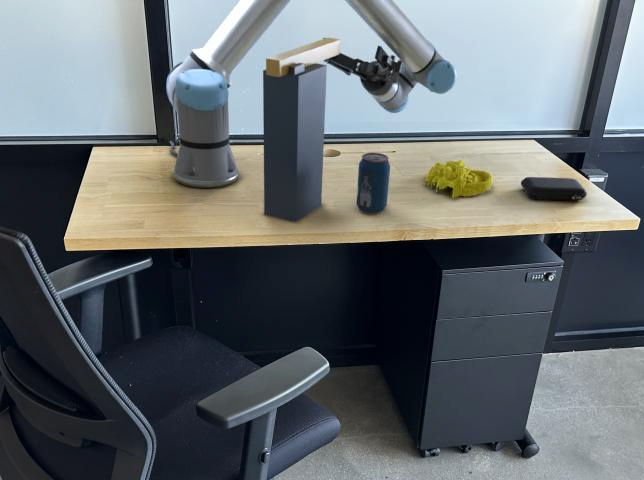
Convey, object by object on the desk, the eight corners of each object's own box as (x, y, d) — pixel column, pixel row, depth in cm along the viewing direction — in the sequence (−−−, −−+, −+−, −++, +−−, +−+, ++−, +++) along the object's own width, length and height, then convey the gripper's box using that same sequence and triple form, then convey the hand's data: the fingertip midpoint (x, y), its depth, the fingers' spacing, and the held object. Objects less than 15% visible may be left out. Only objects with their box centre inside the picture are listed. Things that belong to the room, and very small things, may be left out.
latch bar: (327, 52, 162) (327, 37, 160) (339, 54, 161) (340, 39, 159) (266, 74, 143) (265, 58, 141) (279, 77, 142) (279, 60, 140)
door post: (290, 197, 172) (292, 51, 154) (321, 204, 169) (327, 57, 151) (264, 214, 163) (262, 61, 145) (295, 222, 160) (298, 68, 142)
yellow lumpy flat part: (502, 192, 182) (505, 175, 179) (447, 200, 175) (450, 183, 173) (463, 170, 193) (465, 154, 191) (411, 177, 187) (413, 160, 185)
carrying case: (528, 202, 176) (589, 204, 177) (531, 190, 175) (592, 192, 176) (517, 186, 185) (575, 188, 186) (520, 174, 183) (578, 176, 184)
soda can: (385, 204, 171) (389, 152, 164) (387, 215, 166) (392, 162, 159) (355, 203, 171) (358, 151, 164) (356, 214, 165) (360, 161, 158)
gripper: (338, 59, 191) (305, 24, 171) (429, 73, 183) (405, 38, 163) (331, 88, 192) (297, 57, 172) (420, 103, 184) (396, 72, 164)
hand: (350, 47), depth 167 cm, fingers open, 13 cm apart
